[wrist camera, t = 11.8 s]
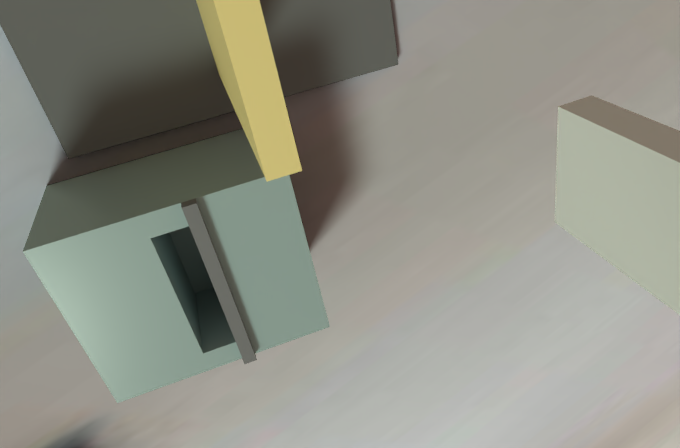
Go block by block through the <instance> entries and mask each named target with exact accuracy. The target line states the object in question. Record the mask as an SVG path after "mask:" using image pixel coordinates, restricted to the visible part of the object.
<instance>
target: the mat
mask: <svg viewBox="0 0 680 448" xmlns="http://www.w3.org/2000/svg"><path fill="white" fill-rule="evenodd" d="M260 4H261V8H262V12H263V16H264V20H265V24H266V28H267V32H268V36H269V40H270V44H271V48H272V52H273V56H274V60H275V64H276V68H277V72H278V76H279V80H280V84H281V88H282V92H283V96H284V97H286V96H290V95H293V94H297V93H300V92H304V91H307V90H311V89H314V88H318V87H321V86H325V85H328V84H332V83H335V82H339V81H342V80H346V79H349V78H353V77H356V76H360V75H363V74H367V73H370V72H374V71H377V70H381V69H384V68H388V67H391V66H395V65H398V57H397V49H396V41H395V33H394V25H393V17H392V9H391V1H390V0H260ZM0 25H1V27H2V29H3V31H4V33H5V35H6V37H7V39H8V40H9V42H10V44H11V46H12V48H13V50H14V52H15V54H16V56H17V58H18V60H19V62H20V64H21V66H22V68H23V70H24V72H25V74H26V76H27V78H28V80H29V82H30V84H31V86H32V88H33V90H34V92H35V94H36V96H37V98H38V100H39V101H40V103H41V105H42V107H43V109H44V111H45V113H46V115H47V117H48V119H49V121H50V123H51V125H52V127H53V129H54V131H55V133H56V135H57V137H58V139H59V141H60V143H61V145H62V147H63V149H64V151H65V153H66V155H67V157H68V159H69V158H73V157H76V156H80V155H83V154H87V153H90V152H94V151H97V150H101V149H104V148H108V147H111V146H115V145H118V144H122V143H125V142H129V141H132V140H136V139H139V138H143V137H146V136H150V135H153V134H157V133H160V132H164V131H167V130H171V129H174V128H178V127H181V126H185V125H188V124H192V123H195V122H199V121H202V120H206V119H209V118H213V117H216V116H220V115H223V114H227V113H230V112H234V111H235V109H234V107H233V105H232V103H231V100H230V98H229V96H228V94H227V91H226V89H225V87H224V85H223V82H222V80H221V78H220V76H219V73H218V70H217V66H216V63H215V60H214V57H213V53H212V50H211V47H210V44H209V41H208V37H207V34H206V31H205V28H204V24H203V21H202V18H201V15H200V12H199V8H198V5H197V2H196V0H0Z"/></svg>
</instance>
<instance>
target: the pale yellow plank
mask: <svg viewBox="0 0 680 448" xmlns="http://www.w3.org/2000/svg"><path fill="white" fill-rule="evenodd" d="M196 2H197V5H198V8H199V12H200V15H201V18H202V21H203V24H204V28H205V31H206V34H207V37H208V41H209V44H210V47H211V50H212V53H213V57H214V60H215V63H216V66H217V70H218V73H219V76H220V78H221V80H222V82H223V85H224V87H225V89H226V91H227V94H228V96H229V98H230V100H231V103H232V105H233V107H234V109H235V112H236V114H237V116H238V118H239V121H240V123H241V125H242V127H243V130H244V132H245V134H246V136H247V139H248V141H249V143H250V145H251V147H252V150H253V152H254V154H255V156H256V159H257V161H258V163H259V165H260V168H261V170H262V172H263V174H264V177H265V179H266V181H267V182H268V181H271V180H274V179H277V178H281V177H284V176H287V175H290V174H293V173H297V172H300V171H302V168H301V164H300V160H299V156H298V152H297V148H296V144H295V140H294V136H293V132H292V128H291V124H290V120H289V116H288V112H287V108H286V104H285V100H284V96H283V92H282V88H281V84H280V80H279V76H278V72H277V68H276V64H275V60H274V56H273V52H272V48H271V44H270V40H269V36H268V32H267V28H266V24H265V20H264V16H263V12H262V8H261V4H260V0H196Z"/></svg>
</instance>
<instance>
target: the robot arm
mask: <svg viewBox="0 0 680 448" xmlns="http://www.w3.org/2000/svg"><path fill="white" fill-rule="evenodd" d="M555 223H557V224H558V225H559V226H561V227H562V228H563V229H565V230H566V231H567V232H569V233H570V234H571V235H573V236H574V237H575V238H577V239H578V240H579V241H581V242H582V243H583V244H585V245H586V246H587V247H589V248H590V249H592V250H593V251H594V252H596V253H597V254H598V255H600V256H601V257H602V258H604V259H605V260H606V261H608V262H609V263H610V264H612V265H613V266H614V267H616V268H617V269H618V270H620V271H621V272H622V273H624V274H625V275H626V276H628V277H629V278H631V279H632V280H633V281H635V282H636V283H637V284H639V285H640V286H641V287H643V288H644V289H645V290H647V291H648V292H649V293H651V294H652V295H653V296H655V297H656V298H657V299H659V300H660V301H661V302H663V303H664V304H665V305H667V306H668V307H670V308H671V309H672V310H674V311H675V312H676V313H678V314H679V315H680V131H678V130H676V129H673V128H671V127H668V126H666V125H663V124H661V123H659V122H656V121H654V120H651V119H649V118H646V117H644V116H641V115H639V114H636V113H634V112H631V111H629V110H626V109H624V108H621V107H619V106H616V105H614V104H611V103H609V102H606V101H604V100H602V99H599V98H597V97H594V96H589V97H586V98H583V99H580V100H577V101H574V102H571V103H567V104H564V105H561V106H558V129H557V161H556V194H555Z"/></svg>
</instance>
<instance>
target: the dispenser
mask: <svg viewBox="0 0 680 448" xmlns="http://www.w3.org/2000/svg"><path fill="white" fill-rule="evenodd" d="M23 252H24V254H25V256H26V257H27V259H28V261H29V262H30V264H31V265H32V267H33V269H34V270H35V272H36V273H37V275H38V277H39V278H40V280H41V281H42V283H43V285H44V286H45V288H46V289H47V291H48V293H49V294H50V296H51V297H52V299H53V301H54V302H55V304H56V305H57V307H58V309H59V310H60V312H61V313H62V315H63V317H64V318H65V320H66V321H67V323H68V325H69V326H70V328H71V329H72V331H73V333H74V334H75V336H76V337H77V339H78V341H79V342H80V344H81V345H82V347H83V349H84V350H85V352H86V353H87V355H88V357H89V358H90V360H91V361H92V363H93V365H94V366H95V368H96V369H97V371H98V373H99V374H100V376H101V377H102V379H103V381H104V382H105V384H106V386H107V387H108V389H109V390H110V392H111V394H112V395H113V397H114V398H115V400H116V402H117V403H119V402H122V401H125V400H128V399H130V398H133V397H136V396H139V395H141V394H144V393H147V392H150V391H153V390H155V389H158V388H161V387H164V386H166V385H169V384H172V383H175V382H177V381H180V380H183V379H186V378H189V377H191V376H194V375H197V374H200V373H202V372H205V371H208V370H211V369H214V368H216V367H219V366H222V365H225V364H227V363H230V362H233V361H236V360H239V359H241V358H242V359H243V361H244V364H246V363H249V362H252V361H255V360H257V359H256V355H255V353H258V352H261V351H263V350H266V349H269V348H272V347H275V346H277V345H280V344H283V343H286V342H288V341H291V340H294V339H297V338H300V337H302V336H305V335H308V334H311V333H313V332H316V331H319V330H322V329H325V328H327V327H330V326H329V322H328V318H327V315H326V311H325V307H324V303H323V299H322V296H321V292H320V288H319V284H318V281H317V277H316V273H315V269H314V266H313V262H312V258H311V254H310V251H309V247H308V243H307V239H306V236H305V232H304V228H303V224H302V220H301V217H300V213H299V209H298V205H297V202H296V198H295V194H294V190H293V187H292V183H291V179H290V175H287V176H284V177H281V178H277V179H274V180H271V181H268V182H267V181H266V179H265V177H264V174H263V172H262V170H261V168H260V165H259V163H258V161H257V159H256V156H255V154H254V152H253V150H252V147H251V145H250V143H249V141H248V139H247V136H246V134H245V132H244V130H243V129H240V130H236V131H233V132H229V133H226V134H223V135H219V136H216V137H212V138H209V139H206V140H202V141H199V142H195V143H192V144H188V145H185V146H182V147H178V148H175V149H171V150H168V151H164V152H161V153H158V154H154V155H151V156H147V157H144V158H140V159H137V160H134V161H130V162H127V163H123V164H120V165H116V166H113V167H110V168H106V169H103V170H99V171H96V172H92V173H89V174H86V175H82V176H79V177H75V178H72V179H68V180H65V181H62V182H58V183H55V184H51V185H48V186H46V189H45V192H44V195H43V197H42V200H41V203H40V206H39V208H38V211H37V214H36V217H35V219H34V222H33V225H32V228H31V231H30V233H29V236H28V239H27V242H26V244H25V247H24V250H23Z"/></svg>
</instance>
